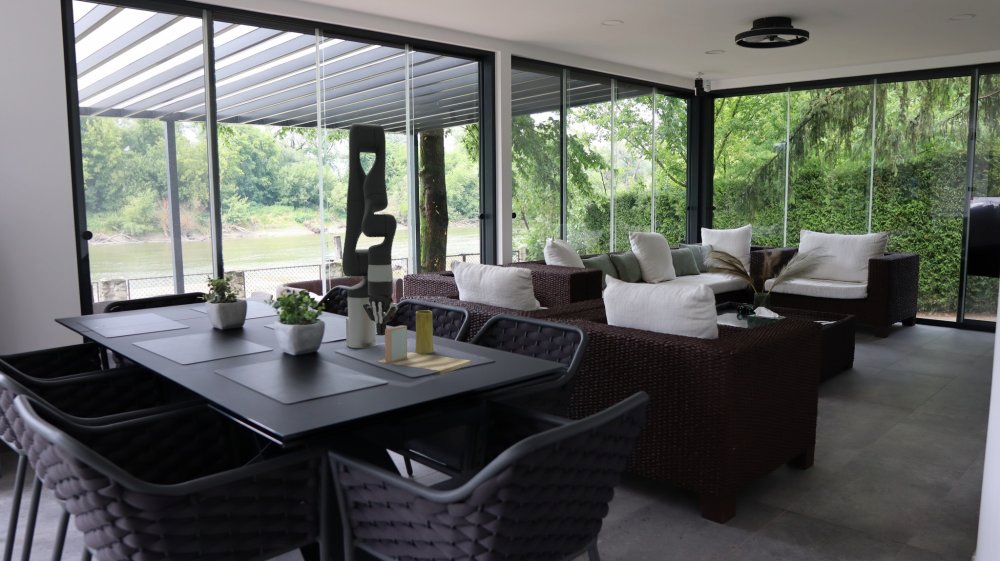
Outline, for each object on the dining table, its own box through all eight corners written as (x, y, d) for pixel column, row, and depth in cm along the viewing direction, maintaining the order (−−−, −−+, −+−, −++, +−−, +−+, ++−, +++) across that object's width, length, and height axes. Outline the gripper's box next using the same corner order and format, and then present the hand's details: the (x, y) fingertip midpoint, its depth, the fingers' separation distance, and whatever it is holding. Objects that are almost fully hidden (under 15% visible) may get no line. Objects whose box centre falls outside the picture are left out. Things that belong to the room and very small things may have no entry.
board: (375, 365, 221) (375, 361, 221) (408, 355, 235) (408, 352, 234) (440, 374, 209) (440, 370, 208) (470, 364, 222) (470, 360, 222)
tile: (385, 361, 220) (385, 329, 219) (402, 357, 227) (401, 325, 226) (390, 362, 219) (390, 329, 218) (407, 357, 226) (407, 325, 225)
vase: (424, 358, 231) (424, 313, 229) (410, 355, 235) (410, 311, 233) (437, 354, 236) (437, 311, 234) (423, 352, 239) (423, 309, 238)
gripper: (355, 279, 224) (357, 335, 225) (389, 281, 217) (390, 338, 218) (371, 277, 230) (373, 331, 232) (405, 279, 223) (406, 335, 225)
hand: (381, 335), depth 225 cm, fingers closed
